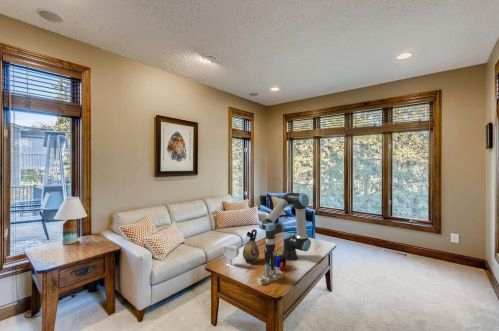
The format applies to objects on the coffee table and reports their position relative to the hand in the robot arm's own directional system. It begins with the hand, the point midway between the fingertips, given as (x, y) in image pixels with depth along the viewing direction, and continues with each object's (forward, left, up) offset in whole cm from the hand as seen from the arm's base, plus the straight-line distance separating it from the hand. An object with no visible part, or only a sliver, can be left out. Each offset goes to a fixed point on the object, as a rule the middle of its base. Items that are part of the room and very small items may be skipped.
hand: (270, 272), depth 186 cm
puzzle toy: (-19, -13, -6) cm, 24 cm away
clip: (0, 0, -2) cm, 2 cm away
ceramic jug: (-8, -37, -6) cm, 38 cm away
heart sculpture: (+13, -40, -6) cm, 42 cm away
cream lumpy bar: (0, 0, -6) cm, 6 cm away
